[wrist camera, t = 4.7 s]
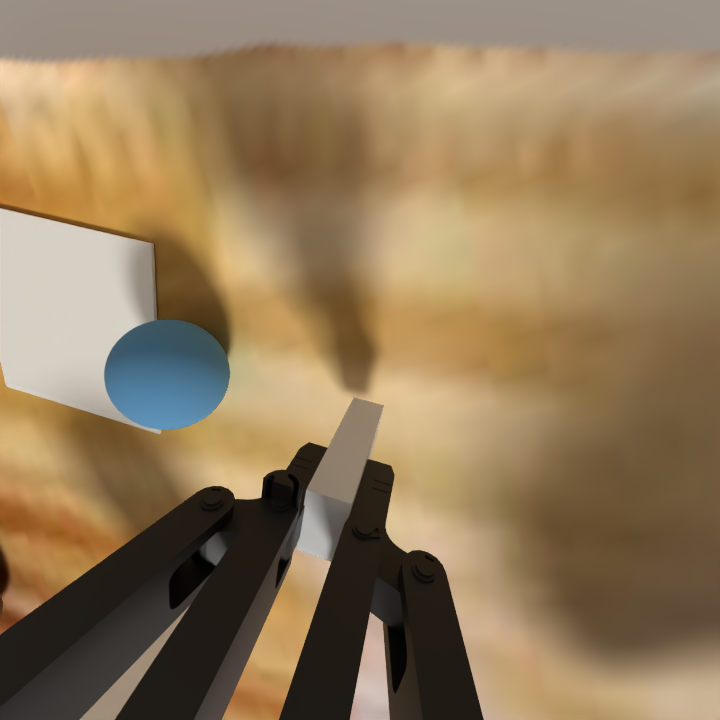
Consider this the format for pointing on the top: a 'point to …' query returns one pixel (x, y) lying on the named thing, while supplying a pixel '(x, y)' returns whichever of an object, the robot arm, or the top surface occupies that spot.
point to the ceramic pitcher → (1, 605)
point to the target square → (69, 307)
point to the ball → (166, 374)
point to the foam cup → (127, 681)
